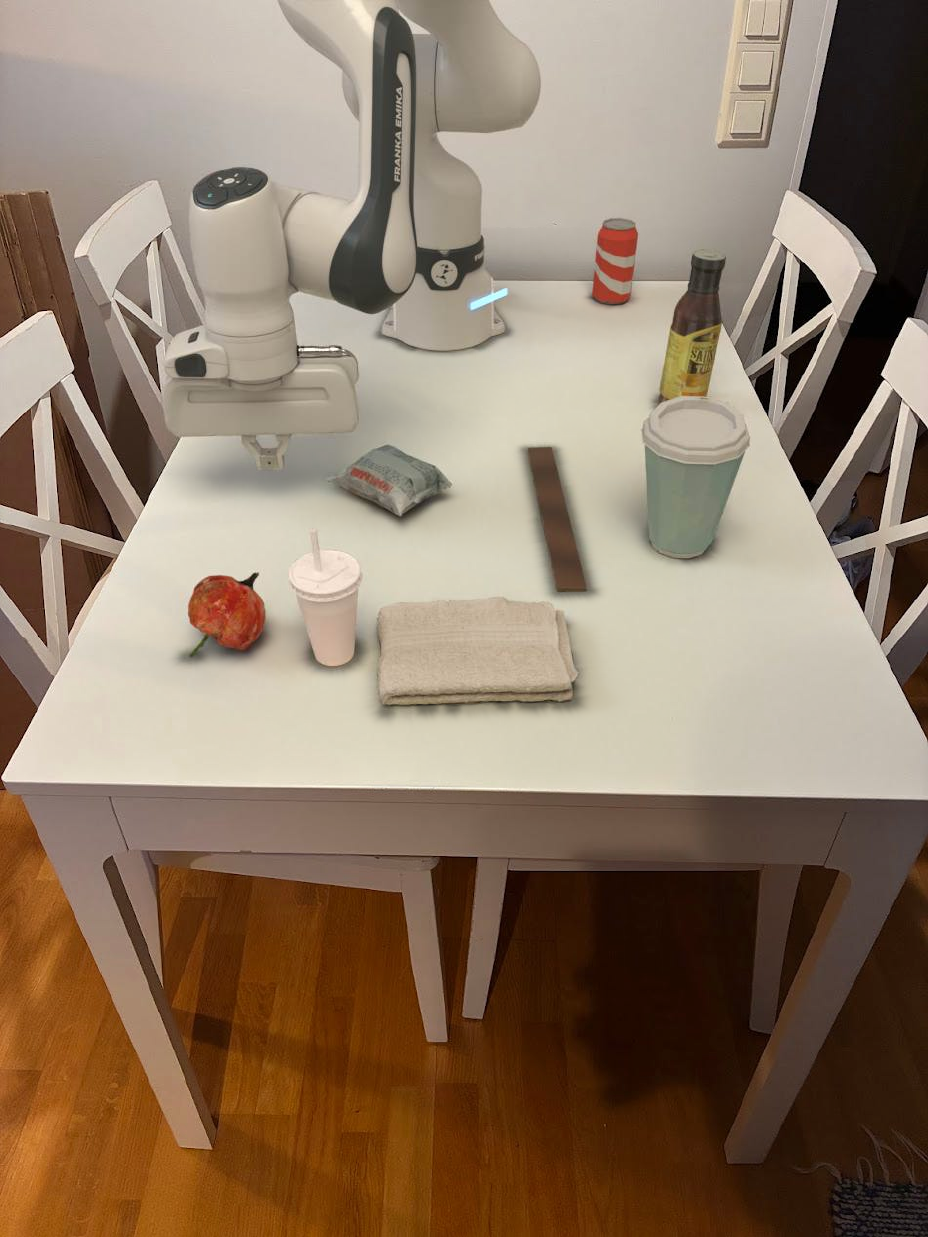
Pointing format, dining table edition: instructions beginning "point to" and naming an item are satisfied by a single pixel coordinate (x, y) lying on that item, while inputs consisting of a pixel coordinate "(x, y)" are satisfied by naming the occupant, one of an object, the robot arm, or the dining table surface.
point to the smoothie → (328, 601)
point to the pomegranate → (227, 611)
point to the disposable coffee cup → (690, 470)
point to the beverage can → (615, 261)
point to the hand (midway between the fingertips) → (271, 465)
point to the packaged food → (392, 479)
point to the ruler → (556, 521)
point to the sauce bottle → (694, 330)
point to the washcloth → (473, 652)
